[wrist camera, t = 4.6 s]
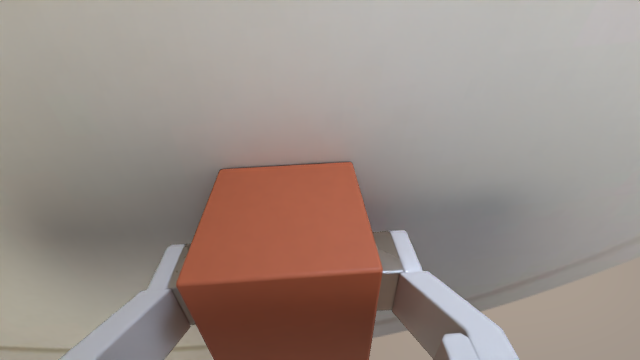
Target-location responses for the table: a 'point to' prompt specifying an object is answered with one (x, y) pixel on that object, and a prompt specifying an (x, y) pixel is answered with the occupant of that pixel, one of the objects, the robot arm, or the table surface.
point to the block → (284, 265)
